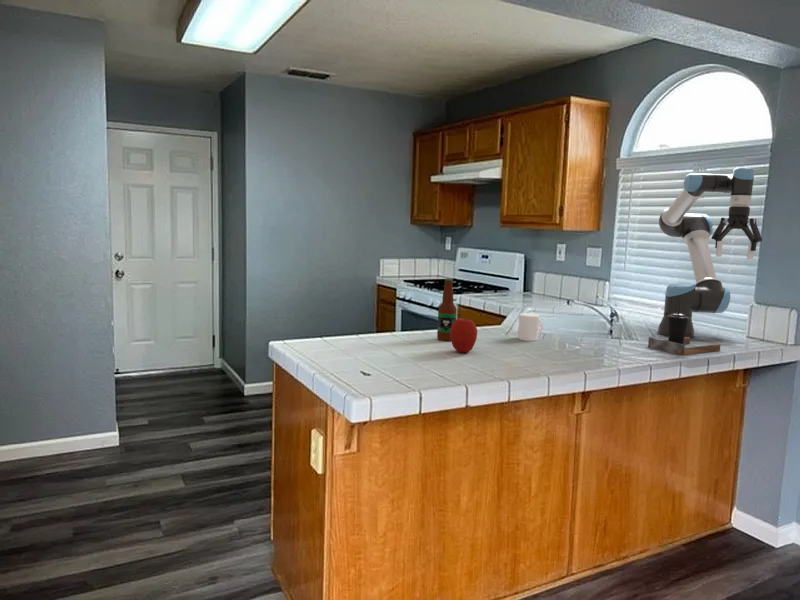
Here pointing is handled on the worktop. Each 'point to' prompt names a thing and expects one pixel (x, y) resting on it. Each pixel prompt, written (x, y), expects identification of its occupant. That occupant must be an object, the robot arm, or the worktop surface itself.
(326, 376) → the worktop surface
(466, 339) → the apple
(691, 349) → the channel
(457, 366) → the worktop surface
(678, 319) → the drinking cup
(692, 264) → the robot arm
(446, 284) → the bottle
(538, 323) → the mug
